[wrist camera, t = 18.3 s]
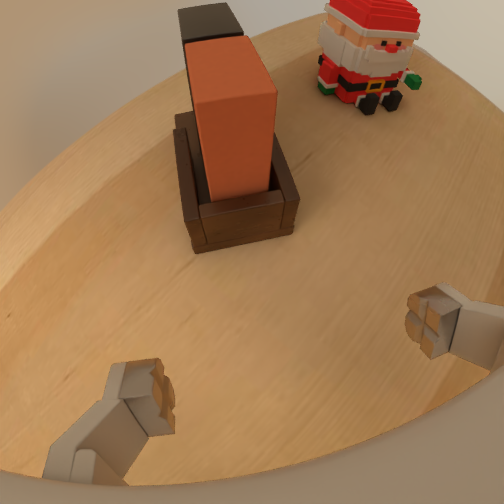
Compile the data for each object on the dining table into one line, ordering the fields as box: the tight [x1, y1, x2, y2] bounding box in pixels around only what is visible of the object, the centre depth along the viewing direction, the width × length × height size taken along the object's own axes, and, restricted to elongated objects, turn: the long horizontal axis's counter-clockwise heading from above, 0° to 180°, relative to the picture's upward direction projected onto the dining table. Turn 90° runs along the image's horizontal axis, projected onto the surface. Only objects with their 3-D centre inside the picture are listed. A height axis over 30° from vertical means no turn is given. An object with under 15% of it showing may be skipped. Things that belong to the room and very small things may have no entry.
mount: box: [173, 3, 300, 254], centre depth 16 cm, size 6×12×10 cm, turn 13°
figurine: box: [317, 0, 422, 115], centre depth 19 cm, size 8×7×12 cm
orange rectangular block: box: [185, 36, 278, 203], centre depth 15 cm, size 3×5×9 cm, turn 13°
